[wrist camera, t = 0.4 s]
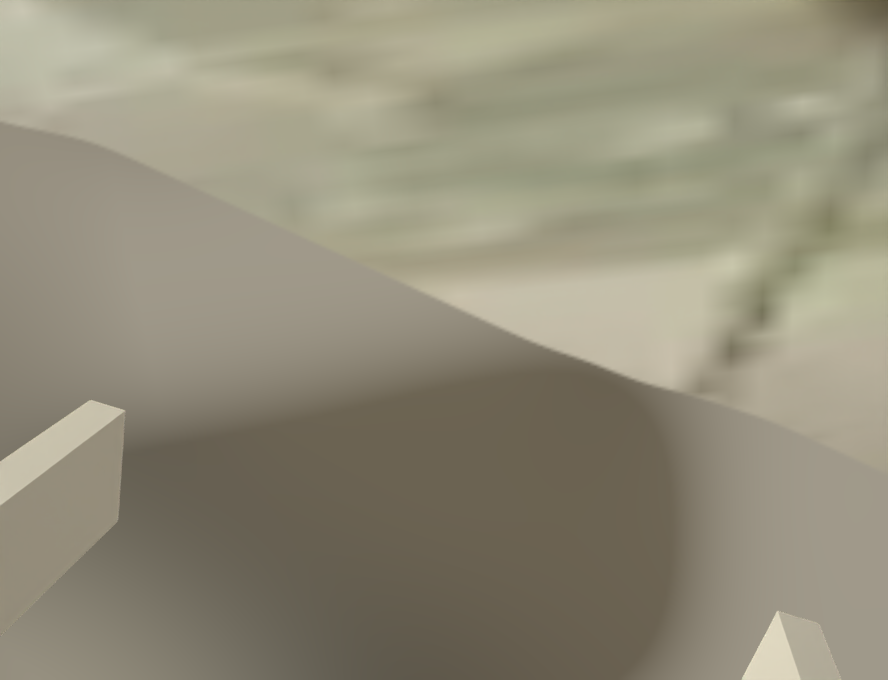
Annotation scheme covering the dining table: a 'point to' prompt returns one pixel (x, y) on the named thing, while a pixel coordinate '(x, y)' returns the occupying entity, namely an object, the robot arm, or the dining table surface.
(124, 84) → the dining table surface
